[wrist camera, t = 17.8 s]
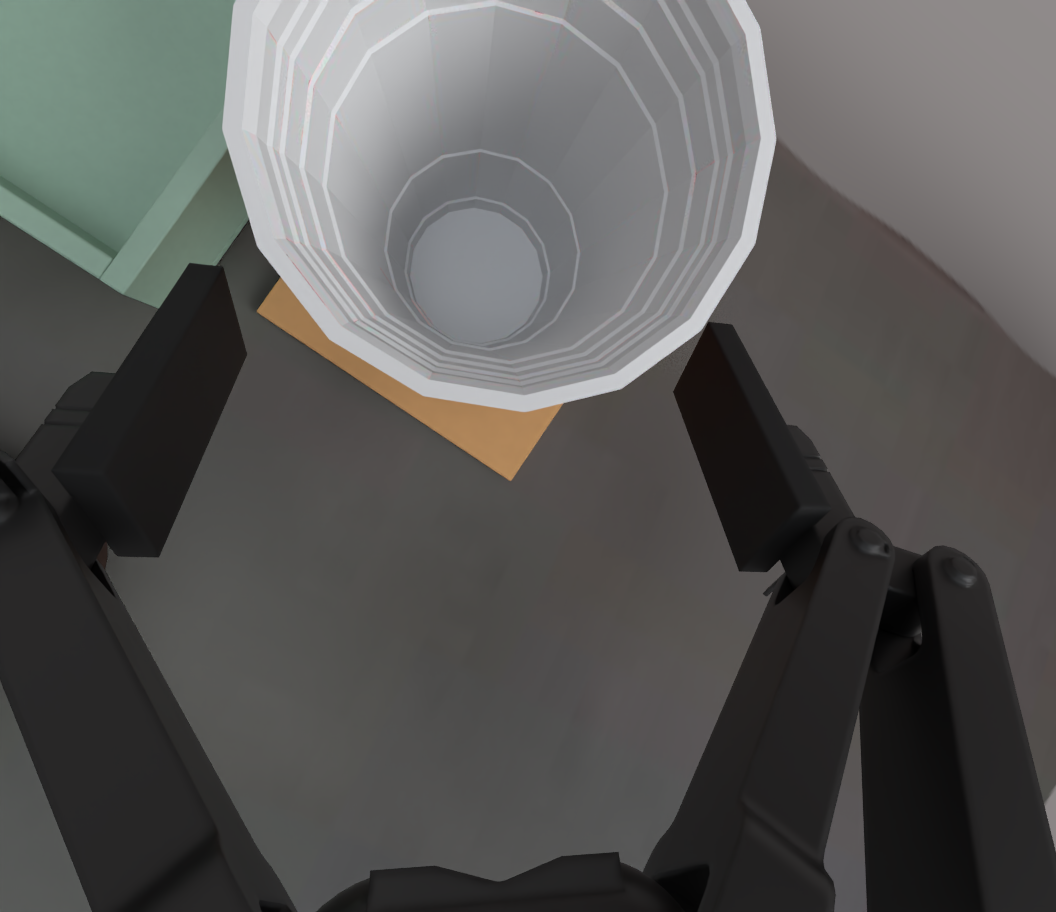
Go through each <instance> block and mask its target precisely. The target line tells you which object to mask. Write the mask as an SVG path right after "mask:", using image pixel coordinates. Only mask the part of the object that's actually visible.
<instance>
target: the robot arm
mask: <svg viewBox="0 0 1056 912" xmlns="http://www.w3.org/2000/svg"><path fill="white" fill-rule="evenodd" d="M246 356H247V352H246V349H245V345H244V341H243V338H242V334H241V330H240V327H239V323H238V320H237V316H236V312H235V309H234V305H233V301H232V298H231V294H230V290H229V287H228V283H227V279H226V276H225V272H224V268H223V267H222V266H213V265H204V264H196V263H189V264H188V266H187V267H186V269H185V270H184V272H183V273H182V275H181V276H180V278H179V279H178V281H177V282H176V284H175V285H174V287H173V288H172V290H171V291H170V293H169V294H168V296H167V297H166V299H165V300H164V302H163V303H162V305H161V306H160V308H159V309H158V311H157V312H156V314H155V315H154V317H153V318H152V320H151V321H150V323H149V324H148V326H147V327H146V329H145V330H144V332H143V333H142V335H141V336H140V338H139V339H138V341H137V342H136V344H135V345H134V347H133V348H132V350H131V351H130V353H129V354H128V356H127V357H126V359H125V360H124V362H123V363H122V365H121V366H120V368H119V369H118V371H117V372H116V373H104V372H90V373H89V374H87V375H86V376H85V377H83V378H82V379H80V380H79V381H77V382H76V383H74V384H73V385H71V386H70V387H69V388H68V389H67V390H66V392H65V393H64V394H63V396H62V397H61V398H60V400H59V401H58V403H57V404H56V405H55V406H56V409H52V411H51V412H50V413H49V415H48V416H47V417H46V419H45V420H44V421H45V424H41V426H40V427H39V428H38V430H37V431H36V432H35V434H34V435H33V437H32V438H31V439H30V441H29V442H28V443H27V445H26V446H25V447H24V449H23V450H22V451H21V453H20V454H19V456H18V457H17V458H16V460H15V461H14V460H13V459H12V458H11V457H10V456H9V455H8V454H7V453H6V452H4V451H0V680H1V683H2V685H3V688H4V690H5V693H6V696H7V698H8V701H9V703H10V706H11V708H12V711H13V713H14V716H15V718H16V721H17V723H18V726H19V728H20V731H21V733H22V736H23V738H24V741H25V743H26V746H27V748H28V751H29V754H30V756H31V759H32V761H33V764H34V766H35V769H36V771H37V774H38V776H39V779H40V781H41V784H42V786H43V789H44V791H45V794H46V796H47V799H48V801H49V804H50V806H51V809H52V811H53V814H54V817H55V819H56V822H57V824H58V827H59V829H60V832H61V834H62V837H63V839H64V842H65V844H66V847H67V849H68V852H69V854H70V857H71V859H72V862H73V864H74V867H75V869H76V872H77V875H78V877H79V880H80V882H81V885H82V887H83V890H84V892H85V895H86V897H87V900H88V902H89V905H90V907H91V910H92V912H297V910H296V908H295V907H294V905H293V903H292V901H291V899H290V898H289V896H288V894H287V892H286V890H285V889H284V887H283V885H282V883H281V882H280V880H279V878H278V877H277V875H276V874H275V872H274V871H273V869H272V867H271V866H270V865H269V863H268V862H267V861H266V859H265V858H264V857H263V855H262V854H261V852H260V851H259V849H258V848H257V846H256V844H255V842H254V841H253V839H252V837H251V835H250V833H249V832H248V830H247V828H246V826H245V824H244V823H243V821H242V819H241V817H240V815H239V813H238V812H237V810H236V808H235V806H234V804H233V803H232V801H231V799H230V797H229V795H228V793H227V792H226V790H225V788H224V786H223V784H222V783H221V781H220V779H219V777H218V775H217V773H216V772H215V770H214V768H213V766H212V764H211V763H210V761H209V759H208V757H207V755H206V753H205V752H204V750H203V748H202V746H201V744H200V743H199V741H198V739H197V737H196V735H195V733H194V732H193V730H192V728H191V726H190V724H189V722H188V721H187V719H186V717H185V715H184V713H183V712H182V710H181V708H180V706H179V704H178V702H177V701H176V699H175V697H174V695H173V693H172V692H171V690H170V688H169V686H168V684H167V682H166V681H165V679H164V677H163V675H162V673H161V672H160V670H159V668H158V666H157V664H156V662H155V661H154V659H153V657H152V655H151V653H150V652H149V650H148V648H147V646H146V644H145V642H144V641H143V639H142V637H141V635H140V633H139V632H138V630H137V628H136V626H135V624H134V622H133V621H132V619H131V617H130V615H129V613H128V612H127V610H126V608H125V606H124V604H123V602H122V601H121V599H120V597H119V595H118V593H117V592H116V590H115V588H114V586H113V584H112V582H111V581H110V579H109V577H108V575H107V573H106V571H105V570H104V568H103V566H102V565H101V563H100V562H99V561H98V560H97V557H98V555H99V553H100V551H101V549H102V547H103V545H104V543H105V542H107V544H108V545H109V546H110V548H111V549H112V550H113V551H114V553H115V554H116V555H117V556H126V557H159V556H160V553H161V551H162V549H163V546H164V544H165V542H166V540H167V537H168V535H169V533H170V530H171V528H172V526H173V523H174V521H175V519H176V517H177V514H178V512H179V510H180V507H181V505H182V503H183V500H184V498H185V496H186V494H187V491H188V489H189V487H190V484H191V482H192V480H193V478H194V475H195V473H196V471H197V468H198V466H199V464H200V461H201V459H202V457H203V455H204V452H205V450H206V448H207V445H208V443H209V441H210V438H211V436H212V434H213V432H214V429H215V427H216V425H217V422H218V420H219V418H220V415H221V413H222V411H223V409H224V406H225V404H226V402H227V399H228V397H229V395H230V392H231V390H232V388H233V386H234V383H235V381H236V379H237V376H238V374H239V372H240V369H241V367H242V365H243V363H244V360H245V358H246ZM673 393H674V395H675V398H676V401H677V404H678V406H679V409H680V412H681V414H682V417H683V420H684V423H685V425H686V428H687V431H688V433H689V436H690V439H691V442H692V444H693V447H694V450H695V453H696V455H697V458H698V461H699V463H700V466H701V469H702V472H703V474H704V477H705V480H706V482H707V485H708V488H709V491H710V493H711V496H712V499H713V501H714V504H715V507H716V510H717V512H718V515H719V518H720V520H721V523H722V526H723V529H724V531H725V534H726V537H727V539H728V542H729V545H730V548H731V550H732V553H733V556H734V558H735V561H736V564H737V567H738V569H739V571H745V572H767V571H768V570H770V569H771V568H772V567H773V566H774V565H775V564H776V563H777V562H778V561H779V560H781V563H782V565H783V567H784V570H785V573H784V574H782V575H781V576H780V577H779V578H778V579H777V580H776V581H775V582H774V583H773V584H772V585H771V586H770V587H768V588H767V589H766V591H765V592H764V593H763V594H764V595H765V596H768V595H769V594H770V593H771V592H773V593H772V595H771V597H770V600H769V602H768V604H767V607H766V609H765V611H764V614H763V616H762V618H761V621H760V623H759V625H758V628H757V630H756V632H755V635H754V637H753V639H752V641H751V644H750V646H749V648H748V651H747V653H746V655H745V658H744V660H743V662H742V665H741V667H740V669H739V672H738V674H737V676H736V679H735V681H734V683H733V686H732V688H731V690H730V693H729V695H728V697H727V699H726V702H725V704H724V706H723V709H722V711H721V713H720V716H719V718H718V720H717V723H716V725H715V727H714V730H713V732H712V734H711V737H710V739H709V741H708V744H707V746H706V748H705V751H704V753H703V755H702V758H701V760H700V762H699V764H698V767H697V769H696V771H695V774H694V776H693V778H692V781H691V783H690V785H689V788H688V790H687V792H686V795H685V797H684V799H683V802H682V804H681V806H680V809H679V811H678V813H677V815H676V817H675V819H674V821H673V823H672V825H671V826H670V828H669V829H668V830H667V831H666V833H665V834H664V835H663V836H662V838H661V839H660V840H659V842H658V843H657V845H656V846H655V848H654V850H653V852H652V854H651V856H650V858H649V860H648V862H647V864H646V866H645V868H644V871H643V873H642V872H641V871H639V870H637V869H635V868H633V867H631V866H629V865H626V864H624V863H621V862H620V859H619V852H612V853H599V854H586V855H572V856H561V857H559V858H556V859H554V860H552V861H550V862H547V863H545V864H543V865H540V866H538V867H536V868H533V869H531V870H529V871H526V872H524V873H522V874H519V875H517V876H515V877H512V878H510V879H508V880H505V881H501V882H496V881H491V880H488V879H484V878H480V877H476V876H472V875H468V874H465V873H461V872H457V871H453V870H449V869H445V868H442V867H438V866H426V867H412V868H399V869H386V870H372V871H370V878H369V879H366V880H364V881H361V882H359V883H356V884H354V885H353V886H351V887H349V888H347V889H346V890H344V891H342V892H341V893H339V894H338V895H336V896H335V897H334V898H332V899H331V900H330V901H328V902H327V903H326V904H324V905H323V906H322V907H321V908H320V909H319V910H318V911H317V912H834V905H835V896H836V894H835V888H834V883H833V880H832V879H831V878H830V876H829V875H828V873H827V872H826V870H825V869H824V863H823V859H824V852H825V847H826V843H827V839H828V835H829V831H830V827H831V823H832V818H833V814H834V810H835V806H836V802H837V798H838V793H839V789H840V785H841V781H842V777H843V773H844V769H845V764H846V760H847V756H848V752H849V748H850V744H851V740H852V735H853V731H854V727H855V723H856V719H857V715H858V711H859V715H860V740H861V765H862V791H863V816H864V842H865V867H866V893H867V912H1056V851H1055V847H1054V843H1053V839H1052V835H1051V831H1050V827H1049V823H1048V819H1047V815H1046V811H1045V807H1044V803H1043V799H1042V794H1041V790H1040V786H1039V782H1038V778H1037V774H1036V770H1035V766H1034V762H1033V758H1032V754H1031V750H1030V746H1029V742H1028V738H1027V734H1026V730H1025V726H1024V722H1023V718H1022V714H1021V710H1020V706H1019V702H1018V698H1017V694H1016V689H1015V685H1014V681H1013V677H1012V673H1011V669H1010V665H1009V661H1008V657H1007V653H1006V649H1005V645H1004V641H1003V637H1002V633H1001V629H1000V625H999V621H998V617H997V613H996V609H995V605H994V601H993V597H992V593H991V589H990V585H989V582H988V580H987V577H986V575H985V573H984V572H983V571H982V570H981V568H980V567H979V566H978V565H977V563H975V562H974V561H973V560H972V559H971V558H970V557H968V556H967V555H966V554H964V553H962V552H960V551H958V550H956V549H955V548H951V547H947V546H935V547H933V548H932V549H931V550H929V551H928V552H926V553H925V554H924V555H919V554H916V553H913V552H910V551H907V550H904V549H901V548H898V547H895V546H893V545H892V543H891V541H890V539H889V538H888V537H887V536H886V535H885V534H884V532H883V531H882V530H880V529H879V528H878V527H876V526H875V525H874V524H872V523H870V522H868V521H866V520H864V519H861V518H856V517H855V516H854V514H853V513H852V511H851V509H850V507H849V506H848V504H847V502H846V500H845V499H844V497H843V495H842V493H841V492H840V490H839V488H838V486H837V485H836V483H835V481H834V479H833V477H832V476H831V474H830V472H827V467H826V465H825V463H824V462H823V460H822V459H820V455H819V453H818V451H817V449H816V448H815V446H814V444H813V442H812V441H811V440H810V439H809V438H808V437H807V436H806V435H805V434H804V433H803V432H802V431H801V430H800V429H799V428H798V427H797V426H793V425H786V423H785V421H784V419H783V417H782V416H781V414H780V412H779V410H778V408H777V406H776V405H775V403H774V401H773V399H772V397H771V395H770V393H769V392H768V390H767V388H766V386H765V384H764V382H763V381H762V379H761V377H760V375H759V373H758V371H757V369H756V368H755V366H754V364H753V362H752V360H751V358H750V357H749V355H748V353H747V351H746V349H745V347H744V345H743V344H742V342H741V340H740V338H739V336H738V334H737V333H736V331H735V329H734V327H733V325H731V324H722V323H713V322H708V324H707V326H706V328H705V330H704V332H703V334H702V336H701V338H700V340H699V342H698V344H697V345H696V347H695V349H694V351H693V353H692V355H691V357H690V359H689V361H688V363H687V365H686V367H685V369H684V371H683V373H682V375H681V377H680V379H679V381H678V383H677V385H676V387H675V389H674V391H673ZM921 632H922V637H921Z"/></svg>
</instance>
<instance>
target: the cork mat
mask: <svg viewBox="0 0 1056 912" xmlns="http://www.w3.org/2000/svg"><path fill="white" fill-rule="evenodd" d="M257 313H259V314H260V315H262V316H263V317H265V318H266V319H268V320H269V321H271V322H272V323H274V324H275V325H277V326H278V327H280V328H281V329H283V330H284V331H286V332H287V333H289V334H290V335H292V336H293V337H295V338H296V339H298V340H299V341H301V342H302V343H304V344H305V345H307V346H308V347H310V348H311V349H313V350H314V351H316V352H317V353H319V354H320V355H322V356H323V357H325V358H326V359H328V360H329V361H331V362H332V363H334V364H335V365H337V366H338V367H340V368H341V369H343V370H344V371H346V372H347V373H349V374H350V375H352V376H353V377H355V378H356V379H358V380H359V381H361V382H362V383H364V384H365V385H367V386H368V387H370V388H371V389H373V390H374V391H376V392H377V393H379V394H380V395H382V396H383V397H385V398H386V399H388V400H389V401H391V402H392V403H394V404H395V405H397V406H398V407H400V408H401V409H403V410H404V411H406V412H407V413H409V414H410V415H412V416H413V417H415V418H416V419H418V420H419V421H421V422H422V423H424V424H425V425H427V426H428V427H430V428H431V429H433V430H434V431H436V432H437V433H439V434H440V435H442V436H443V437H445V438H446V439H448V440H449V441H451V442H452V443H454V444H455V445H457V446H458V447H460V448H461V449H463V450H464V451H466V452H467V453H469V454H470V455H472V456H473V457H475V458H476V459H478V460H479V461H481V462H482V463H484V464H485V465H487V466H488V467H490V468H491V469H493V470H494V471H496V472H497V473H499V474H500V475H502V476H503V477H504V478H506V479H507V480H509V481H511V480H512V479H513V477H514V476H515V474H516V473H517V471H518V470H519V468H520V467H521V465H522V464H523V462H524V461H525V459H526V458H527V456H528V455H529V453H530V452H531V450H532V449H533V447H534V446H535V444H536V443H537V441H538V440H539V438H540V437H541V435H542V434H543V433H544V431H545V430H546V428H547V427H548V425H549V424H550V422H551V421H552V419H553V418H554V416H555V415H556V413H557V412H558V410H559V409H560V407H561V406H562V404H563V403H562V404H557V405H553V406H549V407H545V408H541V409H537V410H533V411H529V412H520V411H513V410H507V409H501V408H495V407H488V406H482V405H476V404H469V403H463V402H457V401H451V400H444V399H438V398H432V397H426V396H422V395H421V394H419V393H417V392H416V391H414V390H412V389H411V388H409V387H407V386H406V385H404V384H402V383H401V382H399V381H397V380H396V379H394V378H392V377H391V376H389V375H387V374H386V373H384V372H382V371H381V370H379V369H377V368H376V367H374V366H372V365H371V364H369V363H367V362H366V361H364V360H362V359H361V358H359V357H357V356H356V355H354V354H352V353H351V352H349V351H348V350H346V349H344V348H343V347H341V346H339V345H338V344H336V343H334V342H333V341H331V340H329V339H328V337H327V336H326V335H325V333H324V332H323V331H322V330H321V328H320V327H319V326H318V324H317V323H316V322H315V320H314V319H313V318H312V317H311V315H310V314H309V313H308V311H307V310H306V309H305V308H304V306H303V305H302V304H301V302H300V301H299V300H298V299H297V297H296V296H295V295H294V293H293V292H292V291H291V289H290V288H289V287H288V286H287V284H286V283H285V282H284V280H283V279H282V278H281V277H280V278H279V280H278V281H277V283H276V284H275V285H274V287H273V288H272V290H271V291H270V293H269V294H268V295H267V297H266V298H265V300H264V301H263V303H262V304H261V305H260V307H259V308H258V310H257Z"/></svg>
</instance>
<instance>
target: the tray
mask: <svg viewBox="0 0 1056 912" xmlns="http://www.w3.org/2000/svg"><path fill="white" fill-rule="evenodd" d="M235 1H236V0H0V216H1V217H2V218H4V219H6V220H7V221H9V222H10V223H12V224H13V225H15V226H16V227H18V228H20V229H21V230H23V231H24V232H26V233H27V234H29V235H31V236H32V237H34V238H35V239H37V240H38V241H40V242H41V243H43V244H45V245H46V246H48V247H49V248H51V249H52V250H54V251H55V252H57V253H59V254H60V255H62V256H63V257H65V258H66V259H68V260H70V261H71V262H73V263H74V264H76V265H77V266H79V267H80V268H82V269H84V270H85V271H87V272H88V273H90V274H91V275H93V276H94V277H96V278H98V279H100V280H101V281H102V282H104V283H105V284H107V285H108V286H110V287H111V288H113V289H115V290H116V291H118V292H119V293H121V294H123V295H125V296H128V297H130V298H133V299H135V300H138V301H140V302H143V303H146V304H148V305H151V306H153V307H156V308H158V309H159V308H160V306H161V305H162V303H163V302H164V300H165V299H166V297H167V296H168V294H169V293H170V291H171V290H172V288H173V287H174V285H175V284H176V282H177V281H178V279H179V278H180V276H181V275H182V273H183V272H184V270H185V269H186V267H187V266H188V264H189V263H196V264H204V265H213V266H216V265H217V264H218V262H219V261H220V259H221V258H222V256H223V255H224V254H225V252H226V251H227V249H228V248H229V247H230V245H231V244H232V242H233V241H234V240H235V238H236V237H237V235H238V234H239V233H240V231H241V230H242V228H243V227H244V226H245V224H246V223H247V221H248V220H249V217H248V214H247V210H246V207H245V204H244V200H243V197H242V194H241V190H240V187H239V184H238V180H237V177H236V174H235V170H234V167H233V164H232V160H231V157H230V154H229V150H228V147H227V144H226V140H225V137H224V134H223V130H222V124H223V113H224V102H225V91H226V80H227V69H228V58H229V47H230V36H231V25H232V14H233V4H234V3H235Z"/></svg>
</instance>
